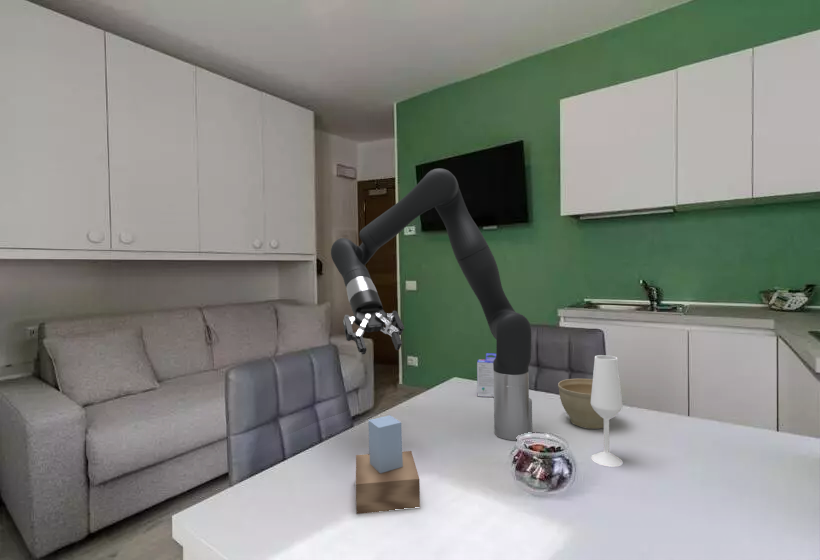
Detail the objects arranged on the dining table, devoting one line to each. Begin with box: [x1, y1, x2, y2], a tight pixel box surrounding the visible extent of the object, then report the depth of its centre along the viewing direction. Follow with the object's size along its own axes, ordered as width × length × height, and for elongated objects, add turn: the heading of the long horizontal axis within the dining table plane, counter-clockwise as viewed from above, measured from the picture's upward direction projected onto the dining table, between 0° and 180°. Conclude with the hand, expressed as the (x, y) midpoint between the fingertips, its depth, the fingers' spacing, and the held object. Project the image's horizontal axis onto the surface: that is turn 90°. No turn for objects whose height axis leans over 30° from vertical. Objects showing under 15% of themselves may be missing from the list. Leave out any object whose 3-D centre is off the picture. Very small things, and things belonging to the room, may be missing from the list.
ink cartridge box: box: [476, 352, 496, 398], centre depth 145 cm, size 10×6×14 cm, turn 78°
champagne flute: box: [590, 354, 624, 468], centre depth 96 cm, size 7×7×24 cm
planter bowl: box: [557, 378, 604, 430], centre depth 118 cm, size 16×16×11 cm
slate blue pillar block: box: [367, 414, 403, 473], centre depth 84 cm, size 5×5×9 cm
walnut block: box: [355, 450, 421, 515], centre depth 84 cm, size 12×12×6 cm
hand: (381, 350), depth 96 cm, fingers open, 8 cm apart
